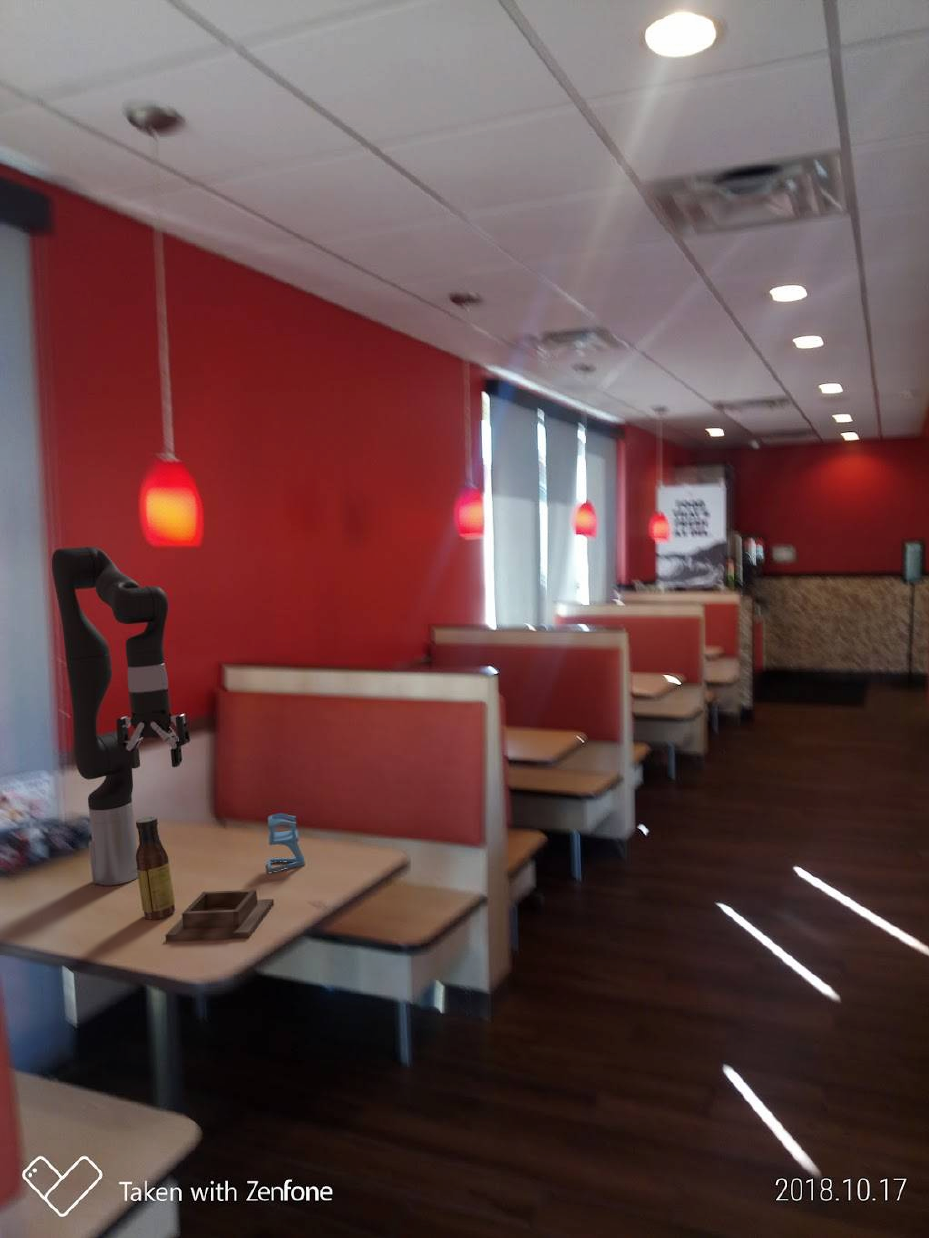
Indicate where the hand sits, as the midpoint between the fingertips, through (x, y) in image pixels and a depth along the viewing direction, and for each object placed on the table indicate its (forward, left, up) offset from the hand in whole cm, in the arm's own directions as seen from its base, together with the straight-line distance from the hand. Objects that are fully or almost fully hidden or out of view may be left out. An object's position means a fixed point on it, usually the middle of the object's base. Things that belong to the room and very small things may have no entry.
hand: (156, 766), depth 188 cm
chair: (+17, +24, -30) cm, 42 cm away
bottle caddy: (+13, -7, -30) cm, 33 cm away
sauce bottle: (-2, -2, -30) cm, 30 cm away
